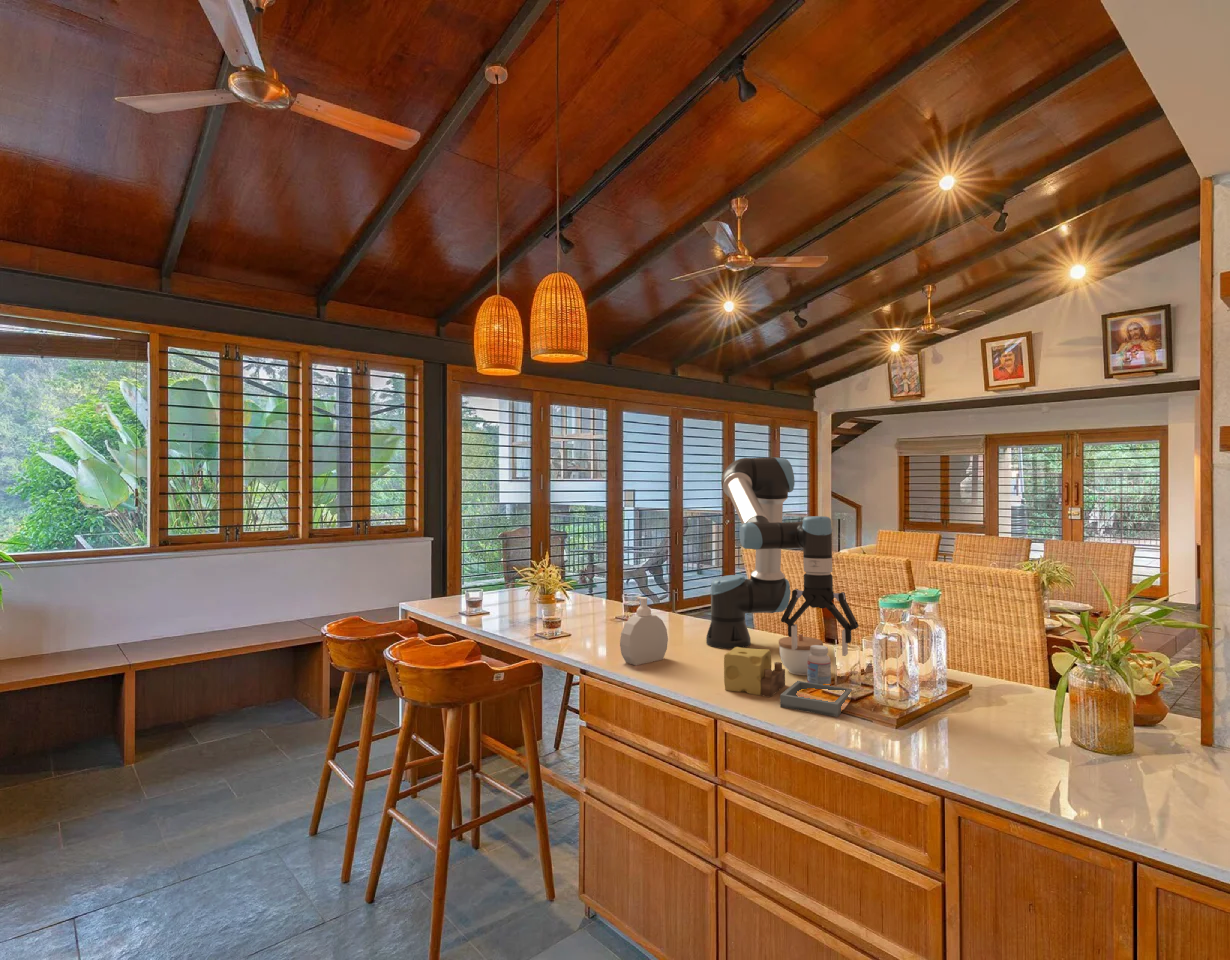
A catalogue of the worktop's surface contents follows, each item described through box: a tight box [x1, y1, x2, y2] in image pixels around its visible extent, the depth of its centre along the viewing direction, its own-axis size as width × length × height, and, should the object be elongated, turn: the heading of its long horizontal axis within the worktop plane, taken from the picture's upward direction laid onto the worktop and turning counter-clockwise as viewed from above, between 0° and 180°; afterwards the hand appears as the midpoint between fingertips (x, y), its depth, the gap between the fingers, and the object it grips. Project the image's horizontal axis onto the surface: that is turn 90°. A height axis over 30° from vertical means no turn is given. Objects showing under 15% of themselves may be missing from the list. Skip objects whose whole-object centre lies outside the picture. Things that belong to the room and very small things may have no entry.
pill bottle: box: [807, 645, 832, 685], centre depth 181 cm, size 6×6×11 cm
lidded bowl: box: [778, 633, 824, 676], centre depth 197 cm, size 13×13×11 cm
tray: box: [779, 680, 853, 718], centre depth 169 cm, size 14×14×3 cm
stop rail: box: [760, 661, 786, 698], centre depth 180 cm, size 12×2×6 cm, turn 147°
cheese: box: [723, 647, 772, 696], centre depth 183 cm, size 10×11×10 cm
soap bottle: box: [619, 596, 669, 666], centre depth 211 cm, size 16×5×20 cm, turn 127°
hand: (819, 651), depth 181 cm, fingers open, 13 cm apart
